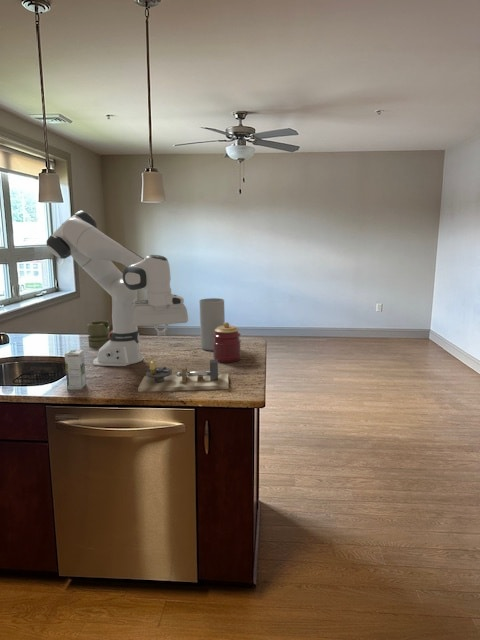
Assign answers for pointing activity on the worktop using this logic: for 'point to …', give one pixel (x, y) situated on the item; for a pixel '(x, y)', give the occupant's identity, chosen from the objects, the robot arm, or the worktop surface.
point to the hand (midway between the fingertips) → (161, 335)
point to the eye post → (184, 373)
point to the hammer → (212, 373)
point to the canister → (226, 343)
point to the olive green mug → (98, 333)
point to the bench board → (176, 384)
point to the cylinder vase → (210, 320)
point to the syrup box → (75, 369)
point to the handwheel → (157, 371)
